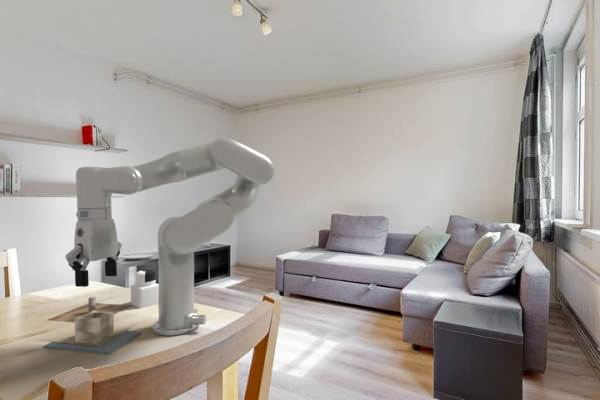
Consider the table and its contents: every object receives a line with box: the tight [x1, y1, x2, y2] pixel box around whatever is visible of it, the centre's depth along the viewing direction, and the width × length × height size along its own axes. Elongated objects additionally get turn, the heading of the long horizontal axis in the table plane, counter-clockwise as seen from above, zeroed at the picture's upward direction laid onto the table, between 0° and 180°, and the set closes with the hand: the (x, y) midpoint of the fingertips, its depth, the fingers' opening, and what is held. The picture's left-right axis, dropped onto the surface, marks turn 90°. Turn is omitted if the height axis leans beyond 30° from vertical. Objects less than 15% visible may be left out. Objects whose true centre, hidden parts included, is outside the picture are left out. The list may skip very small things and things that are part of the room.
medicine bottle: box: [130, 269, 159, 309], centre depth 113 cm, size 7×7×12 cm
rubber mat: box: [43, 330, 142, 355], centre depth 86 cm, size 18×12×1 cm, turn 80°
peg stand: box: [47, 296, 133, 323], centre depth 104 cm, size 16×16×5 cm
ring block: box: [74, 311, 115, 344], centre depth 86 cm, size 6×6×6 cm
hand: (97, 280), depth 86 cm, fingers open, 9 cm apart
